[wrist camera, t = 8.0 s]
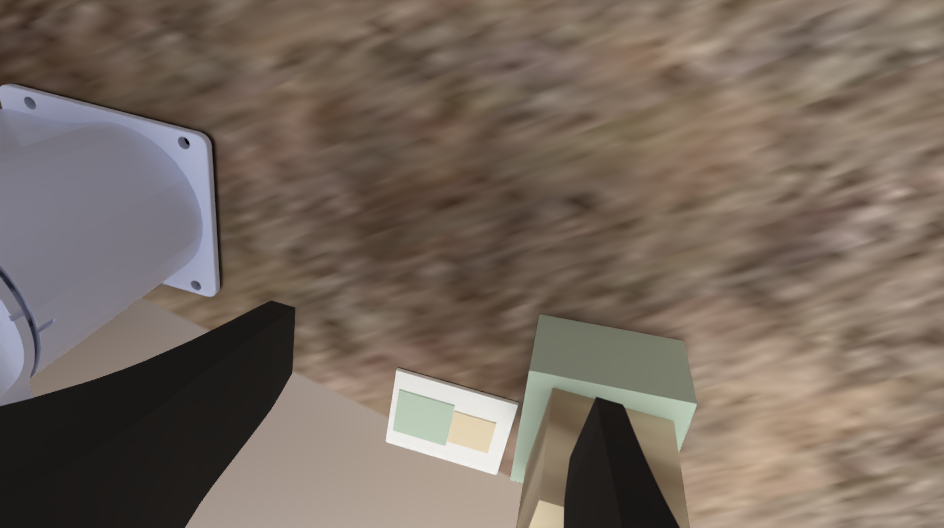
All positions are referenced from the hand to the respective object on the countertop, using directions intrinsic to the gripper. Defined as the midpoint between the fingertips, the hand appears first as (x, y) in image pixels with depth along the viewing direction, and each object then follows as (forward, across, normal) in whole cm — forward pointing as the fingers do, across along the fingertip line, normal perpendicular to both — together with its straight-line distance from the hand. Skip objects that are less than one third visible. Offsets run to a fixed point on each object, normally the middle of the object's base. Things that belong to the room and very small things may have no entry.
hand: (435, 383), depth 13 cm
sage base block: (+10, -6, +7) cm, 14 cm away
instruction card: (+10, 0, +12) cm, 16 cm away
